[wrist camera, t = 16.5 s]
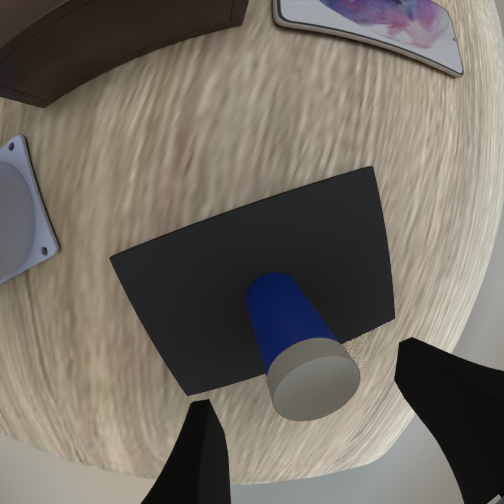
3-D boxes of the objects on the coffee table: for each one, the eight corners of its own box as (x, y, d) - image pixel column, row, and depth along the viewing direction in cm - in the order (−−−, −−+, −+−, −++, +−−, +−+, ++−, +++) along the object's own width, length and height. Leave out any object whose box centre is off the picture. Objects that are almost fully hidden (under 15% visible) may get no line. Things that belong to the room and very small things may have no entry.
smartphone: (270, -51, 10) (449, 9, 11) (268, -44, 10) (443, 12, 12) (275, 23, 11) (466, 80, 13) (271, 29, 12) (459, 81, 14)
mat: (187, 392, 18) (187, 396, 18) (111, 256, 15) (108, 258, 14) (392, 316, 19) (395, 318, 19) (369, 166, 15) (373, 166, 15)
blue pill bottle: (251, 327, 17) (280, 430, 9) (239, 279, 16) (265, 373, 8) (303, 313, 17) (359, 404, 10) (296, 264, 16) (361, 343, 9)
